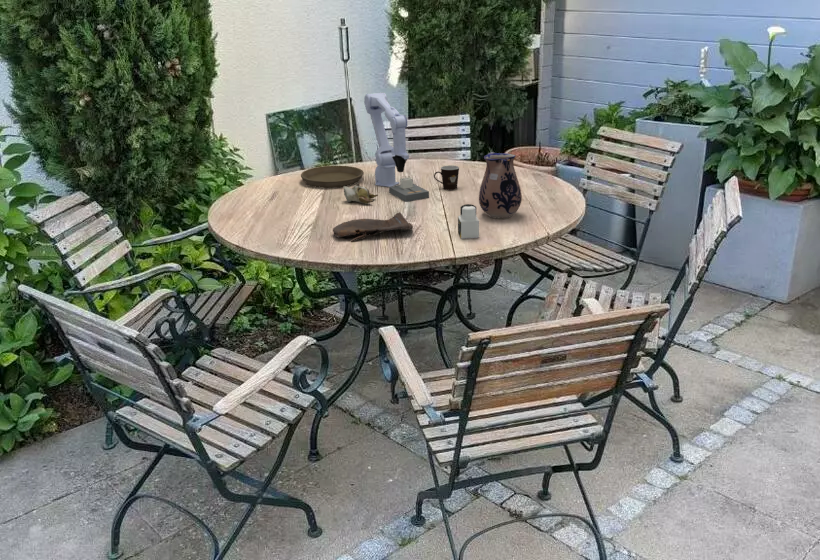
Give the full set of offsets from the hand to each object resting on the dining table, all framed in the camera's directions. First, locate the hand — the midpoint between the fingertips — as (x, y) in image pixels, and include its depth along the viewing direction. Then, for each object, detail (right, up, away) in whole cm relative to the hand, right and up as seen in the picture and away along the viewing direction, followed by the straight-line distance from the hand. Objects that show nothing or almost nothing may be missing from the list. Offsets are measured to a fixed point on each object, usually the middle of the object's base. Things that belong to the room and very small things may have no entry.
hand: (400, 171), depth 333 cm
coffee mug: (+22, -7, +6) cm, 24 cm away
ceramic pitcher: (+41, -23, -33) cm, 57 cm away
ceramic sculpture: (-18, -16, -10) cm, 26 cm away
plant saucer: (-34, -1, +25) cm, 42 cm away
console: (+4, -11, -3) cm, 12 cm away
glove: (-10, -32, -49) cm, 59 cm away
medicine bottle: (+27, -33, -56) cm, 70 cm away
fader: (+3, -8, -3) cm, 9 cm away
